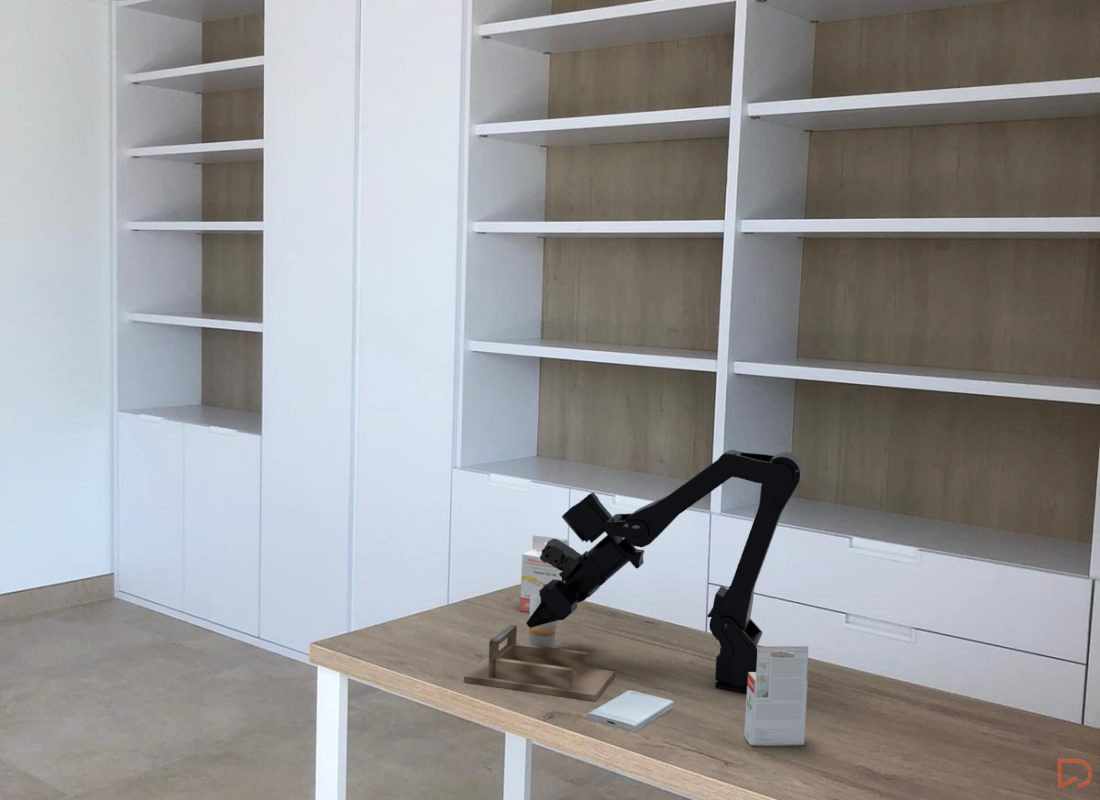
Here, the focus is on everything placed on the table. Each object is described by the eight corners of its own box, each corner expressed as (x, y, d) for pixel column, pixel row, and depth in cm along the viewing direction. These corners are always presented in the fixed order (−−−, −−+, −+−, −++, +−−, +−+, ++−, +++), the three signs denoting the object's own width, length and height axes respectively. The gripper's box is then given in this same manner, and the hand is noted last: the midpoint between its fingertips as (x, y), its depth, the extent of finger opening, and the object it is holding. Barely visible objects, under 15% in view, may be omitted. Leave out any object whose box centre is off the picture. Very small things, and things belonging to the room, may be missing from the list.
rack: (614, 677, 188) (615, 636, 188) (595, 701, 177) (596, 657, 176) (490, 660, 195) (491, 620, 194) (463, 682, 183) (465, 640, 183)
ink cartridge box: (518, 611, 225) (521, 538, 224) (529, 605, 229) (531, 534, 228) (558, 618, 222) (561, 543, 220) (568, 611, 226) (571, 539, 225)
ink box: (743, 736, 165) (748, 638, 163) (796, 736, 165) (802, 639, 164) (750, 747, 161) (755, 646, 160) (804, 746, 162) (810, 647, 160)
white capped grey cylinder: (559, 657, 198) (561, 595, 197) (548, 664, 193) (551, 601, 192) (534, 652, 200) (536, 591, 198) (523, 660, 195) (525, 597, 194)
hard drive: (628, 689, 180) (587, 711, 169) (674, 700, 175) (635, 724, 165) (627, 699, 180) (586, 722, 170) (673, 711, 176) (634, 735, 165)
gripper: (585, 516, 202) (524, 570, 206) (553, 536, 184) (487, 595, 188) (626, 564, 200) (563, 618, 205) (598, 590, 182) (530, 647, 187)
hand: (536, 618), depth 196 cm, fingers open, 9 cm apart
